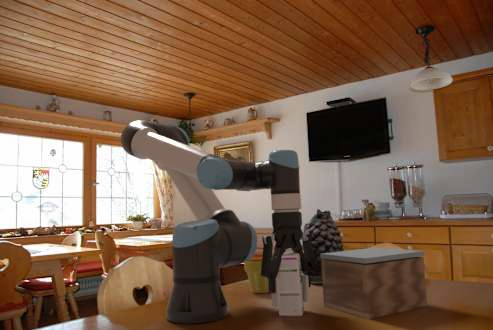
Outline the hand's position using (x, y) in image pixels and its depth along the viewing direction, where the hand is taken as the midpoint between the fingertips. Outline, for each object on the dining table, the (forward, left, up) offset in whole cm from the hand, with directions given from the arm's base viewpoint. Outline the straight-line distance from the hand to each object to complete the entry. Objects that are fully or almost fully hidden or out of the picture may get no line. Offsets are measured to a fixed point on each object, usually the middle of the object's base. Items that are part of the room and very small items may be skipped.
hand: (291, 303), depth 100 cm
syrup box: (0, 0, -2) cm, 2 cm away
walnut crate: (+21, -7, -2) cm, 22 cm away
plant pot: (+8, +28, -3) cm, 29 cm away
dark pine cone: (+35, +30, -3) cm, 46 cm away
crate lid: (+21, -7, +10) cm, 24 cm away
